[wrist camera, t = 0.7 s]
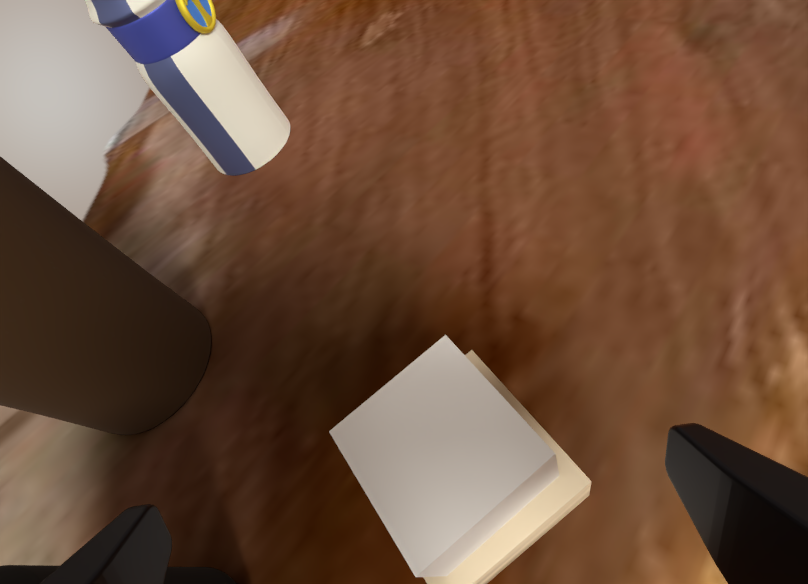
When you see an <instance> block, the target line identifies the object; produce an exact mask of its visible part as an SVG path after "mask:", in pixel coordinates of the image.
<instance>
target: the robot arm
mask: <svg viewBox="0 0 808 584" xmlns="http://www.w3.org/2000/svg"><path fill="white" fill-rule="evenodd" d="M665 466H666V470H667V473H668V476H669V478H670V480H671V482H672V484H673V485H674V487H675V489H676V491H677V493H678V495H679V497H680V499H681V500H682V502H683V504H684V506H685V508H686V510H687V512H688V514H689V516H690V517H691V519H692V521H693V523H694V525H695V527H696V529H697V531H698V532H699V534H700V536H701V538H702V540H703V542H704V544H705V546H706V547H707V549H708V551H709V553H710V555H711V556H712V558H713V560H714V562H715V563H716V565H717V567H718V568H719V570H720V571H721V573H722V575H723V576H724V578H725V579H726V581H727V582H728V584H808V477H807V476H804V475H802V474H800V473H798V472H796V471H794V470H792V469H790V468H788V467H786V466H784V465H782V464H780V463H778V462H776V461H774V460H772V459H770V458H767V457H765V456H763V455H761V454H759V453H757V452H755V451H753V450H751V449H749V448H747V447H745V446H743V445H741V444H739V443H737V442H735V441H733V440H730V439H728V438H726V437H724V436H722V435H720V434H718V433H716V432H714V431H712V430H710V429H708V428H706V427H704V426H702V425H699V424H696V423H689V424H682V425H675V426H673V427H671V428H670V430H669V433H668V440H667V449H666V458H665ZM171 550H172V539H171V535H170V533H169V531H168V529H167V527H166V525H165V523H164V521H163V518H162V516H161V514H160V512H159V510H158V509H157V507H156V506H154V505H151V504H147V505H141V506H134V507H130V508H128V509H126V510H125V511H124V512H122V513H121V514H120V515H119V516H118V517H117V518H115V519H114V520H113V521H112V522H111V523H110V524H108V525H107V526H106V527H105V528H104V529H103V530H101V531H100V532H99V533H98V534H97V535H96V536H94V537H93V538H92V539H91V540H90V541H89V542H87V543H86V544H85V545H84V546H83V547H82V548H80V549H79V550H78V551H77V552H76V553H75V554H73V555H72V556H71V557H70V558H69V559H68V560H67V561H65V562H64V563H63V564H62V565H61V566H60V567H58V568H57V569H56V570H55V571H54V572H53V573H51V574H50V575H49V576H48V577H47V578H46V579H44V580H43V581H42V582H41V583H40V584H163V583H164V579H165V575H166V571H167V567H168V563H169V559H170V554H171Z"/></svg>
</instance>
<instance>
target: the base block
mask: <svg viewBox="0 0 808 584" xmlns="http://www.w3.org/2000/svg"><path fill="white" fill-rule="evenodd" d="M465 356H466V357H467V358H468V360H469V361H470V362H471V363H472V364H473V365H474V366H475V367H476V368H477V369H478V370H479V371H480V373H481V374H482V375H483V376H484V377H485V378H486V379H487V380H488V381H489V382H490V383H491V384H492V386H493V387H494V388H495V389H496V390H497V391H498V392H499V393H500V394H501V395H502V396H503V397H504V399H505V400H506V401H507V402H508V403H509V404H510V405H511V406H512V407H513V408H514V409H515V410H516V412H517V413H518V414H519V415H520V416H521V417H522V418H523V419H524V420H525V421H526V422H527V423H528V425H529V426H530V427H531V428H532V429H533V430H534V431H535V432H536V433H537V434H538V435H539V436H540V437H541V439H542V440H543V441H544V442H545V443H546V444H547V445H548V446H549V447H550V448H551V449H552V450H553V452H554V453H555V454H556V459H557V465H558V471H559V477H558V478H557V479H555V480H554V481H553V482H552V483H551V484H550V485H549V486H548V487H546V488H545V489H544V490H543V491H542V492H541V493H540V494H539V495H537V496H536V497H535V498H534V499H533V500H532V501H531V502H530V503H528V504H527V505H526V506H525V507H524V508H523V509H522V510H521V511H519V512H518V513H517V514H516V515H515V516H514V517H513V518H512V519H511V520H509V521H508V522H507V523H506V524H505V525H504V526H503V527H502V528H500V529H499V530H498V531H497V532H496V533H495V534H494V535H493V536H491V537H490V538H489V539H488V540H487V541H486V542H485V543H484V544H482V545H481V546H480V547H479V548H478V549H477V550H476V551H475V552H473V553H472V554H471V555H470V556H469V557H468V558H467V559H466V560H464V561H463V562H462V563H461V564H460V565H459V566H458V567H457V568H455V569H454V570H453V571H452V572H451V573H450V574H449V575H448V576H438V577H423V578H424V579H425V581H426V583H427V584H487V583H488V582H489V581H490V580H492V579H493V578H494V577H495V576H496V575H497V574H499V573H500V572H501V571H502V570H503V569H504V568H505V567H507V566H508V565H509V564H510V563H511V562H512V561H514V560H515V559H516V558H517V557H518V556H519V555H521V554H522V553H523V552H524V551H525V550H526V549H528V548H529V547H530V546H531V545H532V544H533V543H534V542H536V541H537V540H538V539H539V538H540V537H541V536H543V535H544V534H545V533H546V532H547V531H548V530H550V529H551V528H552V527H553V526H554V525H555V524H556V523H558V522H559V521H560V520H561V519H562V518H563V517H565V516H566V515H567V514H568V513H569V512H570V511H572V510H573V509H574V508H575V507H576V506H577V505H579V504H580V503H581V502H582V501H583V500H584V499H585V498H587V497H588V496H589V493H590V487H591V481H590V480H589V478H588V477H587V476H586V475H585V474H584V473H583V472H582V471H581V470H580V469H579V467H578V466H577V465H576V464H575V463H574V462H573V461H572V460H571V459H570V457H569V456H568V455H567V454H566V453H565V452H564V451H563V450H562V449H561V448H560V446H559V445H558V444H557V443H556V442H555V441H554V440H553V439H552V438H551V437H550V435H549V434H548V433H547V432H546V431H545V430H544V429H543V428H542V427H541V426H540V424H539V423H538V422H537V421H536V420H535V419H534V418H533V417H532V416H531V415H530V413H529V412H528V411H527V410H526V409H525V408H524V407H523V406H522V405H521V404H520V402H519V401H518V400H517V399H516V398H515V397H514V396H513V395H512V394H511V392H510V391H509V390H508V389H507V388H506V387H505V386H504V385H503V384H502V383H501V381H500V380H499V379H498V378H497V377H496V376H495V375H494V374H493V373H492V372H491V370H490V369H489V368H488V367H487V366H486V365H485V364H484V363H483V362H482V361H481V359H480V358H479V357H478V356H477V355H476V354H475V353H474V352H473V351H472V350H471V351H470V352H468V353H467V354H466V355H465Z"/></svg>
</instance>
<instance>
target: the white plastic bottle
mask: <svg viewBox="0 0 808 584" xmlns="http://www.w3.org/2000/svg"><path fill="white" fill-rule="evenodd" d="M85 2H86V5H87V7H88V12H89V16H90V19H91V20H92V21H93V22H94V23H96V24H98V25H103V26H106V28H107V29H108V30H109V31H110V32H111V34H112V35H113V36H114V37H115V38H116V39H117V41H118V42H119V43H120V44H121V45H122V46H123V48H124V49H126V51H127V52H128V53H129V54H130V55H131V57H132V58H133V59H134V60H135V62H136V65H137V68H138V70H139V72H140V73H141V76H142V77H143V79H144V80H145V82H146V83H147V84H148V86H149V87H150V88H151V90H152V91H153V92H154V93H155V94H156V96H157V97H158V98H159V99H160V100H161V102H162V103H163V104H164V105H165V106H166V107H167V108H168V110H169V111H170V112H171V113H172V114H173V115H174V117H175V118H176V119H177V120H178V121H179V122H180V124H181V125H182V126H183V127H184V128H185V130H186V131H187V132H188V133H189V134H190V136H191V137H192V138H193V139H194V141H195V142H196V143H197V144H198V146H199V147H200V148H201V149H202V151H203V152H204V153H205V155H206V156H207V157H208V158H209V160H210V161H211V162H212V163H213V165H214V166H215V167H216V169H217V170H218V171H219V172H221V173H223V174H226V175H241V174H245V173H249V172H251V171H254V170H256V169H258V168H260V167H261V166H263V165H265V164H266V163H267V162H269V161H270V160H271V159H272V158H274V157H275V156H276V155H277V154H278V153H279V151H280V150H281V149H282V148H283V146H284V145H285V143H286V142H287V139H288V137H289V135H290V123H289V120H288V119H287V117H286V116H285V115H284V113H283V112H282V110H281V109H280V108H279V106H278V105H277V104H276V102H275V101H274V99H273V98H272V97H271V95H270V94H269V92H268V91H267V89H266V88H265V87H264V85H263V84H262V82H261V81H260V79H259V78H258V77H257V75H256V74H255V72H254V71H253V69H252V68H251V66H250V65H249V63H248V62H247V60H246V59H245V57H244V56H243V54H242V53H241V51H240V49H239V48H238V46H237V45H236V43H235V42H234V41H233V39H232V38H231V36H230V35H229V33H228V32H227V31H226V29H225V28H224V27H223V25H222V24H221V23H220V22H219V21H218V20H217V19H216V14H215V9H214V5H213V2H212V0H85Z"/></svg>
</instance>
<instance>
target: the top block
mask: <svg viewBox="0 0 808 584" xmlns="http://www.w3.org/2000/svg"><path fill="white" fill-rule="evenodd" d="M329 433H330V434H331V436H332V438H333V439H334V441H335V443H336V444H337V446H338V448H339V449H340V451H341V453H342V454H343V456H344V458H345V460H346V461H347V463H348V465H349V466H350V468H351V470H352V471H353V473H354V475H355V476H356V478H357V480H358V481H359V483H360V485H361V486H362V488H363V490H364V491H365V493H366V495H367V496H368V498H369V500H370V501H371V503H372V505H373V507H374V508H375V510H376V512H377V513H378V515H379V517H380V518H381V520H382V522H383V523H384V525H385V527H386V528H387V530H388V532H389V533H390V535H391V537H392V538H393V540H394V542H395V543H396V545H397V547H398V548H399V550H400V552H401V553H402V555H403V557H404V559H405V560H406V562H407V564H408V565H409V567H410V569H411V570H412V572H413V574H414V575H415V577H438V576H448V575H449V574H450V573H451V572H452V571H453V570H454V569H455V568H457V567H458V566H459V565H460V564H461V563H462V562H463V561H464V560H466V559H467V558H468V557H469V556H470V555H471V554H472V553H473V552H475V551H476V550H477V549H478V548H479V547H480V546H481V545H482V544H484V543H485V542H486V541H487V540H488V539H489V538H490V537H491V536H493V535H494V534H495V533H496V532H497V531H498V530H499V529H500V528H502V527H503V526H504V525H505V524H506V523H507V522H508V521H509V520H511V519H512V518H513V517H514V516H515V515H516V514H517V513H518V512H519V511H521V510H522V509H523V508H524V507H525V506H526V505H527V504H528V503H530V502H531V501H532V500H533V499H534V498H535V497H536V496H537V495H539V494H540V493H541V492H542V491H543V490H544V489H545V488H546V487H548V486H549V485H550V484H551V483H552V482H553V481H554V480H555V479H557V478H558V477H559V471H558V465H557V459H556V454H555V453H554V452H553V450H552V449H551V448H550V447H549V446H548V445H547V444H546V443H545V442H544V441H543V440H542V439H541V437H540V436H539V435H538V434H537V433H536V432H535V431H534V430H533V429H532V428H531V427H530V426H529V425H528V423H527V422H526V421H525V420H524V419H523V418H522V417H521V416H520V415H519V414H518V413H517V412H516V410H515V409H514V408H513V407H512V406H511V405H510V404H509V403H508V402H507V401H506V400H505V399H504V397H503V396H502V395H501V394H500V393H499V392H498V391H497V390H496V389H495V388H494V387H493V386H492V384H491V383H490V382H489V381H488V380H487V379H486V378H485V377H484V376H483V375H482V374H481V373H480V371H479V370H478V369H477V368H476V367H475V366H474V365H473V364H472V363H471V362H470V361H469V360H468V358H467V357H466V356H465V355H464V354H463V353H462V352H461V351H460V350H459V349H458V348H457V347H456V345H455V344H454V343H453V342H452V341H451V340H450V339H449V338H448V337H447V336H446V335H445V336H443V337H442V338H441V339H440V340H439V341H437V342H436V343H435V344H434V345H433V346H431V347H430V348H429V349H428V350H427V351H425V352H424V353H423V354H422V355H421V356H419V357H418V358H417V359H416V360H415V361H413V362H412V363H411V364H410V365H408V366H407V367H406V368H405V369H404V370H402V371H401V372H400V373H399V374H398V375H396V376H395V377H394V378H393V379H392V380H390V381H389V382H388V383H387V384H386V385H384V386H383V387H382V388H381V389H380V390H378V391H377V392H376V393H375V394H373V395H372V396H371V397H370V398H369V399H367V400H366V401H365V402H364V403H363V404H361V405H360V406H359V407H358V408H357V409H355V410H354V411H353V412H352V413H351V414H349V415H348V416H347V417H346V418H344V419H343V420H342V421H341V422H340V423H338V424H337V425H336V426H335V427H334V428H332V429H331V430H330V431H329Z"/></svg>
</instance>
